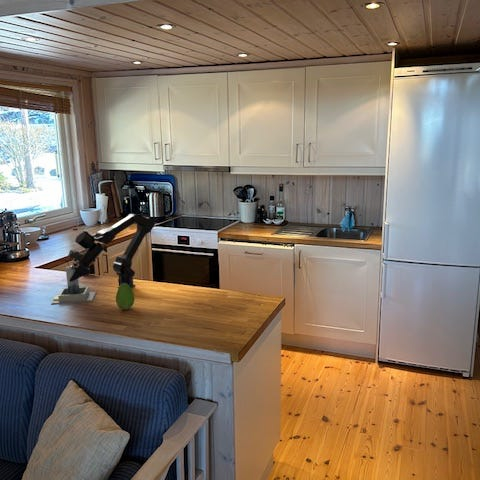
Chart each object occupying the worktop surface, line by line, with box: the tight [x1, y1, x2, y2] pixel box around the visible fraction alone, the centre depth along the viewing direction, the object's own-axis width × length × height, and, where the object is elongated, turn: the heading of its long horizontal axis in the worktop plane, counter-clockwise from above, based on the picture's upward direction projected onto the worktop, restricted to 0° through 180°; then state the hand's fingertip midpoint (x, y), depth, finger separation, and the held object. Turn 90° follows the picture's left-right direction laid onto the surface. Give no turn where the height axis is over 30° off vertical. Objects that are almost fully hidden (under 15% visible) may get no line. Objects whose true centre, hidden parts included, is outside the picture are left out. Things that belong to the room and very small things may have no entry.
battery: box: [88, 262, 96, 276], centre depth 266 cm, size 4×7×10 cm, turn 114°
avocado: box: [115, 283, 135, 311], centre depth 209 cm, size 8×8×12 cm
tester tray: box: [51, 286, 97, 305], centre depth 226 cm, size 18×13×4 cm
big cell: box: [65, 265, 80, 295], centre depth 224 cm, size 5×5×13 cm
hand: (69, 279), depth 224 cm, fingers closed on big cell, 5 cm apart
